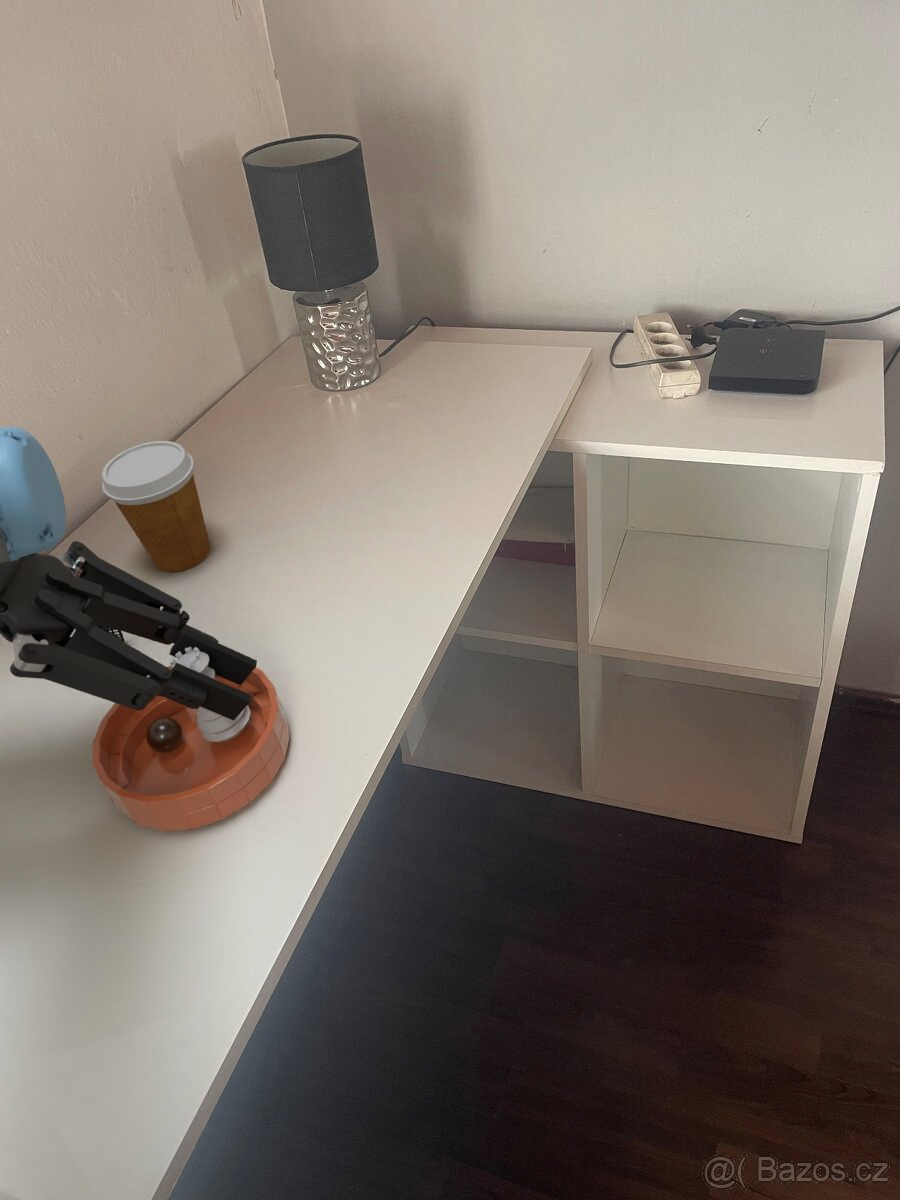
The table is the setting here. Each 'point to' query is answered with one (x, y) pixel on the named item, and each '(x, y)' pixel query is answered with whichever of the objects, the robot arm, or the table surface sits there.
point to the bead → (164, 734)
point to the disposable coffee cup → (160, 502)
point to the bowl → (190, 760)
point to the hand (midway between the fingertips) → (245, 689)
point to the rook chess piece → (208, 721)
